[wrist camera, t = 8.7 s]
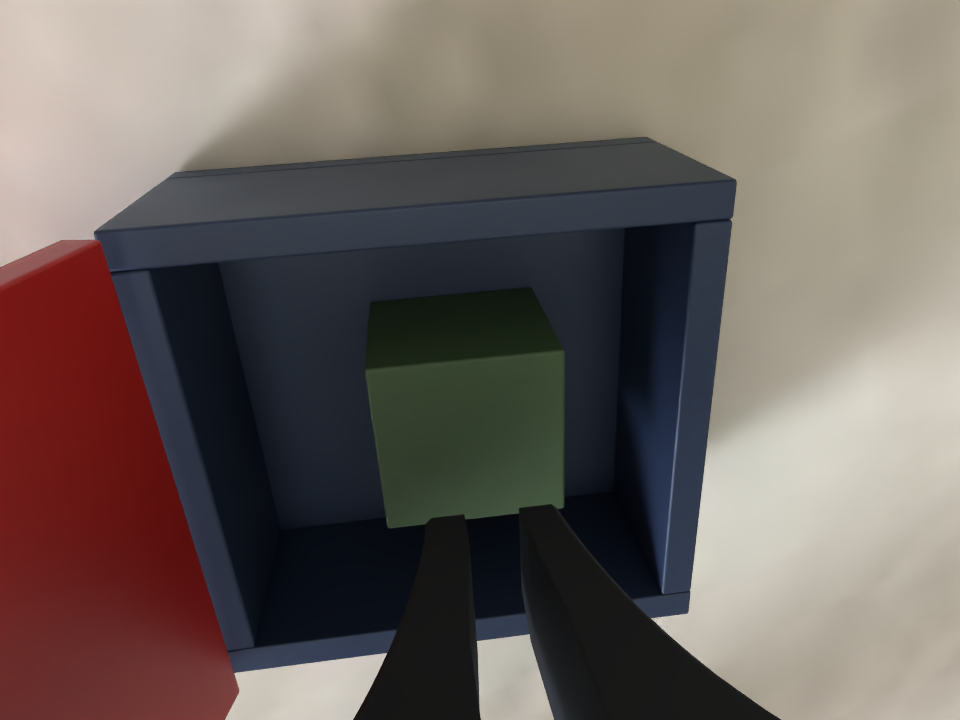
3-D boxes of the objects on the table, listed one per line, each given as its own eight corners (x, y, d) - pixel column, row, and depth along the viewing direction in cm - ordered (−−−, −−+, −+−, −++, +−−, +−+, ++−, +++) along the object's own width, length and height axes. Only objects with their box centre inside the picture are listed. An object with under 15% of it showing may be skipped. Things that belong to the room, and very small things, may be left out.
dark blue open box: (648, 136, 18) (738, 179, 13) (628, 493, 23) (688, 614, 19) (172, 172, 17) (91, 231, 12) (263, 535, 22) (229, 674, 18)
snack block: (535, 424, 21) (565, 509, 17) (387, 440, 20) (387, 530, 17) (532, 286, 19) (565, 349, 15) (369, 301, 18) (364, 369, 15)
